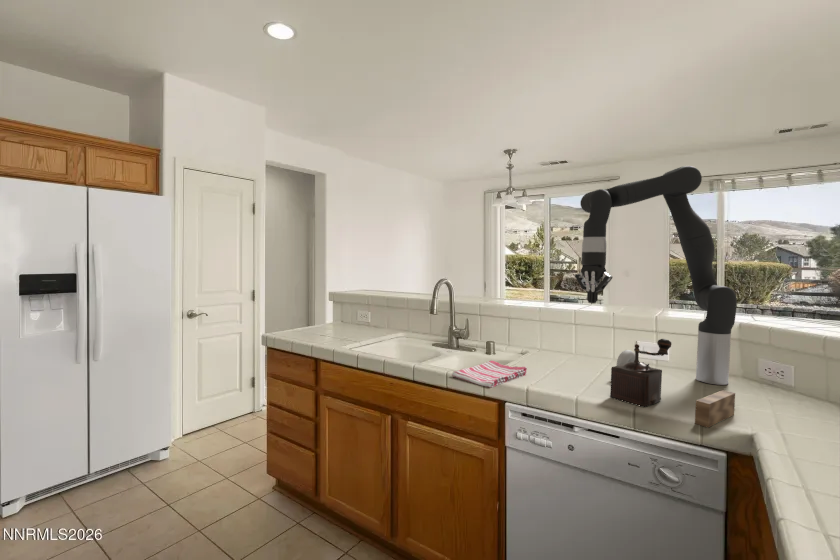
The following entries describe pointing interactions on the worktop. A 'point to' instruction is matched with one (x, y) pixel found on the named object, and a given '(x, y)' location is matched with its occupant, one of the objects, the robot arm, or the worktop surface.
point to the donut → (626, 357)
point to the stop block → (714, 408)
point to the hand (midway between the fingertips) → (592, 302)
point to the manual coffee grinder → (638, 379)
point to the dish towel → (490, 374)
